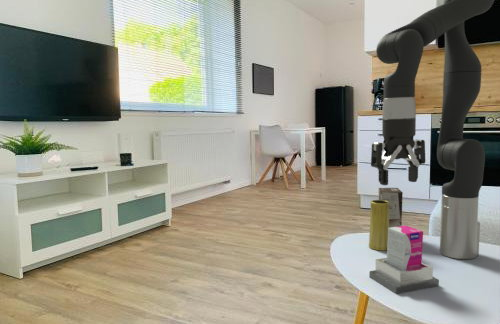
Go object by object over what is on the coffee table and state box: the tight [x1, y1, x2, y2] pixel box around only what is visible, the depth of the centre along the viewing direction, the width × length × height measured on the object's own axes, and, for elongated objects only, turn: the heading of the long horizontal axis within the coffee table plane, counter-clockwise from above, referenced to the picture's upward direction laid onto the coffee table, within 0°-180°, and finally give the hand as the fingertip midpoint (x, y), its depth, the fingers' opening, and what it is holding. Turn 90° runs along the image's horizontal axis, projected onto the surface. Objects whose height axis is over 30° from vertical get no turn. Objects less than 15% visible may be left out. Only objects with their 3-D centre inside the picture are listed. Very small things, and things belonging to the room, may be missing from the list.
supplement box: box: [386, 225, 424, 271], centre depth 94 cm, size 6×6×12 cm
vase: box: [368, 199, 389, 251], centre depth 118 cm, size 6×6×14 cm
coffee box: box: [377, 187, 404, 228], centre depth 127 cm, size 9×6×16 cm
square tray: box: [368, 257, 440, 295], centre depth 94 cm, size 12×10×4 cm
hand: (398, 183), depth 96 cm, fingers open, 8 cm apart
